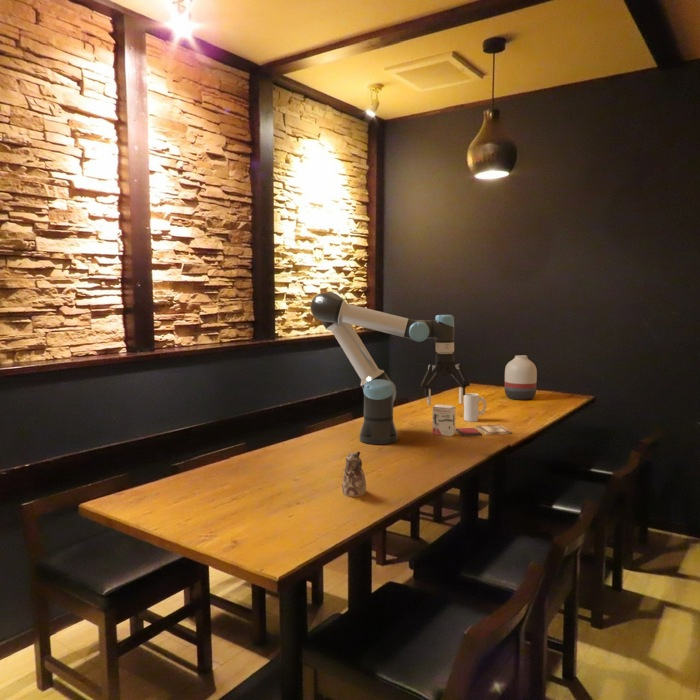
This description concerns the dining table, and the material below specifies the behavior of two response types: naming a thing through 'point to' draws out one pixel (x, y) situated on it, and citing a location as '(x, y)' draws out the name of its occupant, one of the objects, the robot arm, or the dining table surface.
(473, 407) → the mug
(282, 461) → the dining table surface
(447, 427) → the ink box
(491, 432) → the board
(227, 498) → the dining table surface
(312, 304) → the robot arm
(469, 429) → the ink pad
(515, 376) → the vase
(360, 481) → the figurine
